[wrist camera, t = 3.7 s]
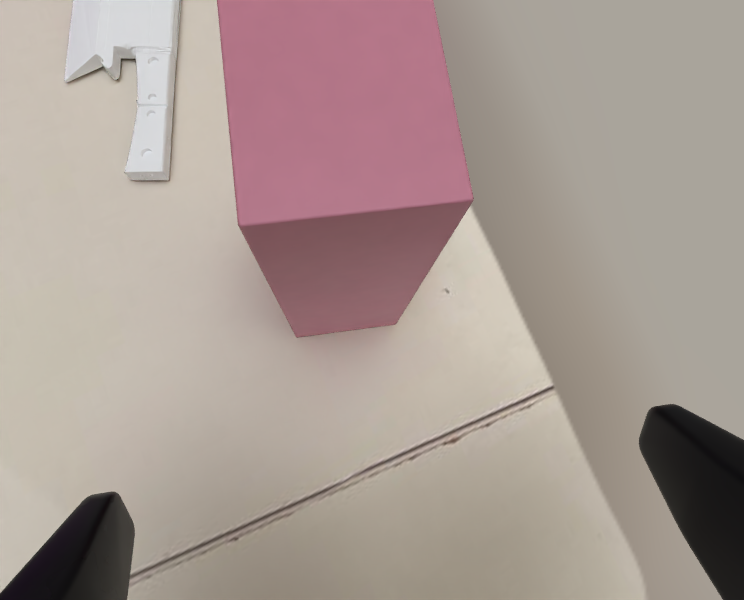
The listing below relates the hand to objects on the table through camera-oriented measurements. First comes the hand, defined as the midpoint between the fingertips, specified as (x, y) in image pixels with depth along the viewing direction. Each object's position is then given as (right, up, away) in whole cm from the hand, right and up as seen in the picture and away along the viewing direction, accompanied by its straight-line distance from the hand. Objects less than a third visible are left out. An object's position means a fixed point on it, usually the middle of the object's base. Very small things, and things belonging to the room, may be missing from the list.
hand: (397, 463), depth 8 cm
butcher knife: (-12, +15, +16) cm, 25 cm away
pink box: (-2, +4, +14) cm, 15 cm away
